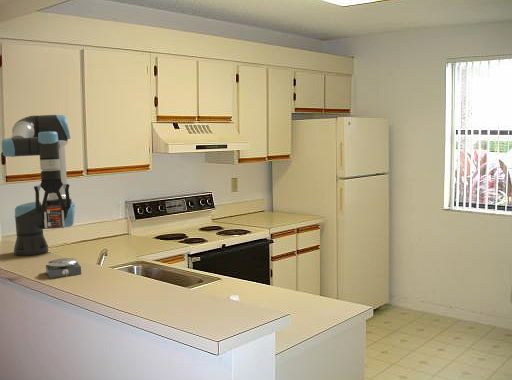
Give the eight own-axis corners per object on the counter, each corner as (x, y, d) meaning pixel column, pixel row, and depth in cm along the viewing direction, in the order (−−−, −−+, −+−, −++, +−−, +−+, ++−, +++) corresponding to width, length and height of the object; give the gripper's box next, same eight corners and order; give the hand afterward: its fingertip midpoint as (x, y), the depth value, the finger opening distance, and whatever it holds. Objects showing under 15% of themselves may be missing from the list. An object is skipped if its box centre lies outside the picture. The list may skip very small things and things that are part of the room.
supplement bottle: (50, 229, 230) (48, 201, 229) (44, 228, 234) (42, 200, 233) (64, 227, 233) (62, 199, 232) (59, 226, 238) (57, 198, 237)
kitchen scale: (46, 272, 232) (45, 260, 231) (77, 268, 237) (76, 256, 237) (49, 278, 222) (48, 266, 221) (81, 274, 227) (80, 262, 226)
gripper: (25, 171, 224) (30, 230, 226) (76, 168, 232) (80, 225, 234) (24, 171, 231) (29, 228, 233) (73, 168, 239) (77, 223, 241)
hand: (54, 226), depth 234 cm, fingers closed on supplement bottle, 6 cm apart
